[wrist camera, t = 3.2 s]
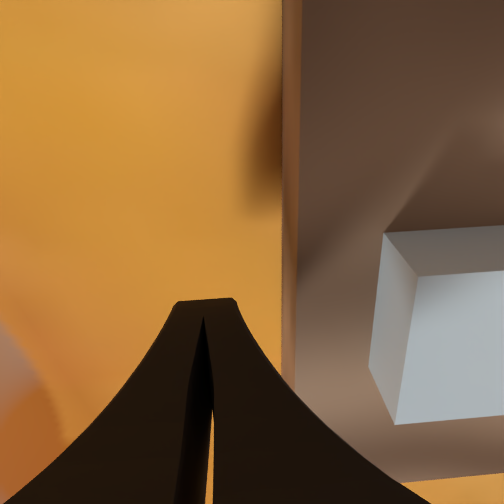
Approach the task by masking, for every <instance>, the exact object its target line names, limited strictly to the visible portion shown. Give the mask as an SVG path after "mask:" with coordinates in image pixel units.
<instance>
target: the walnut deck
mask: <svg viewBox="0 0 504 504" xmlns="http://www.w3.org/2000/svg"><path fill="white" fill-rule="evenodd" d="M498 225H504V0H282V378H283V379H284V381H285V382H286V383H287V384H288V385H289V387H290V388H291V389H292V390H293V391H294V392H295V393H296V395H297V396H298V397H299V398H300V399H301V400H302V401H303V402H304V403H305V404H306V405H307V406H308V407H309V408H310V409H311V410H312V411H313V412H314V413H315V414H316V415H317V416H318V417H319V418H320V419H321V420H322V421H323V422H324V423H325V424H326V425H327V426H328V427H329V428H330V429H332V430H333V431H334V432H335V433H336V434H337V435H339V436H340V437H341V438H342V439H343V440H344V441H346V442H347V443H348V444H349V445H350V446H351V447H353V448H354V449H355V450H356V451H357V452H358V453H360V454H361V455H362V456H363V457H364V458H366V459H367V460H368V461H370V462H371V463H372V464H374V465H375V466H376V467H378V468H379V469H380V470H382V471H383V472H384V473H386V474H387V475H388V476H389V477H391V478H392V479H394V480H395V481H397V482H398V483H405V482H415V481H425V480H435V479H446V478H456V477H466V476H476V475H486V474H496V473H504V415H499V416H488V417H477V418H466V419H455V420H444V421H433V422H422V423H410V424H399V425H394V422H393V420H392V418H391V416H390V414H389V411H388V409H387V407H386V405H385V402H384V400H383V398H382V396H381V394H380V391H379V389H378V387H377V385H376V383H375V380H374V378H373V376H372V374H371V372H370V369H369V367H368V365H369V356H370V347H371V338H372V330H373V321H374V312H375V303H376V294H377V285H378V277H379V268H380V259H381V250H382V241H383V233H388V232H403V231H419V230H435V229H451V228H467V227H482V226H498Z"/></svg>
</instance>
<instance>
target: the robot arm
mask: <svg viewBox="0 0 504 504" xmlns="http://www.w3.org/2000/svg"><path fill="white" fill-rule="evenodd" d="M212 410H213V418H214V470H213V504H431V503H429V502H428V501H426V500H425V499H423V498H421V497H420V496H418V495H417V494H415V493H414V492H412V491H411V490H409V489H408V488H406V487H405V486H403V485H401V484H400V483H398V482H397V481H395V480H394V479H392V478H391V477H389V476H388V475H387V474H386V473H384V472H383V471H382V470H380V469H379V468H378V467H376V466H375V465H374V464H372V463H371V462H370V461H368V460H367V459H366V458H364V457H363V456H362V455H361V454H360V453H358V452H357V451H356V450H355V449H354V448H353V447H351V446H350V445H349V444H348V443H347V442H346V441H344V440H343V439H342V438H341V437H340V436H339V435H337V434H336V433H335V432H334V431H333V430H332V429H330V428H329V427H328V426H327V425H326V424H325V423H324V422H323V421H322V420H321V419H320V418H319V417H318V416H317V415H316V414H315V413H314V412H313V411H312V410H311V409H310V408H309V407H308V406H307V405H306V404H305V403H304V402H303V401H302V400H301V399H300V398H299V397H298V396H297V395H296V393H295V392H294V391H293V390H292V389H291V388H290V387H289V385H288V384H287V383H286V382H285V381H284V379H283V378H282V377H281V376H280V374H279V373H278V372H277V370H276V369H275V368H274V367H273V365H272V364H271V363H270V361H269V360H268V358H267V357H266V356H265V354H264V353H263V351H262V350H261V348H260V347H259V345H258V344H257V342H256V340H255V339H254V337H253V336H252V334H251V332H250V331H249V329H248V327H247V325H246V323H245V321H244V320H243V317H242V315H241V313H240V311H239V308H238V305H237V302H236V301H235V300H234V299H233V298H219V299H205V300H191V301H178V302H177V303H176V304H175V305H174V306H173V308H172V311H171V313H170V315H169V317H168V319H167V320H166V322H165V324H164V326H163V328H162V329H161V331H160V333H159V334H158V336H157V338H156V339H155V341H154V343H153V344H152V346H151V347H150V349H149V350H148V352H147V353H146V355H145V357H144V358H143V360H142V361H141V362H140V364H139V365H138V367H137V368H136V369H135V371H134V372H133V373H132V375H131V376H130V377H129V379H128V380H127V382H126V383H125V384H124V386H123V387H122V388H121V390H120V391H119V392H118V393H117V394H116V396H115V397H114V398H113V399H112V401H111V402H110V403H109V404H108V405H107V406H106V408H105V409H104V410H103V411H102V412H101V413H100V414H99V416H98V417H97V418H96V419H95V420H94V421H93V422H92V423H91V424H90V425H89V427H88V428H87V429H86V430H85V431H84V432H83V433H82V434H81V435H80V436H79V437H78V438H77V439H76V440H75V441H74V442H73V443H72V444H71V445H70V446H69V447H68V448H67V449H66V450H65V451H64V452H63V453H62V454H61V455H60V456H59V457H57V458H56V459H55V460H54V461H53V462H52V463H51V464H50V465H49V466H48V467H47V468H45V469H44V470H43V471H42V472H41V473H40V474H39V475H37V476H36V477H35V478H34V479H33V480H31V481H30V482H29V483H28V484H27V485H26V486H24V487H23V488H22V489H21V490H20V491H18V492H17V493H16V494H15V495H14V496H12V497H11V498H10V499H9V500H7V501H6V502H5V503H4V504H205V497H206V484H207V471H208V458H209V446H210V433H211V419H212Z"/></svg>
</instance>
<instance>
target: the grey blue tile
mask: <svg viewBox="0 0 504 504" xmlns="http://www.w3.org/2000/svg"><path fill="white" fill-rule="evenodd" d="M368 367H369V369H370V372H371V374H372V376H373V378H374V380H375V383H376V385H377V387H378V389H379V391H380V394H381V396H382V398H383V400H384V402H385V405H386V407H387V409H388V411H389V414H390V416H391V418H392V420H393V422H394V425H399V424H410V423H422V422H433V421H444V420H455V419H466V418H477V417H488V416H499V415H504V225H498V226H482V227H467V228H451V229H435V230H419V231H403V232H388V233H383V241H382V250H381V259H380V268H379V277H378V285H377V294H376V303H375V312H374V321H373V330H372V338H371V347H370V356H369V365H368Z"/></svg>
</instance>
